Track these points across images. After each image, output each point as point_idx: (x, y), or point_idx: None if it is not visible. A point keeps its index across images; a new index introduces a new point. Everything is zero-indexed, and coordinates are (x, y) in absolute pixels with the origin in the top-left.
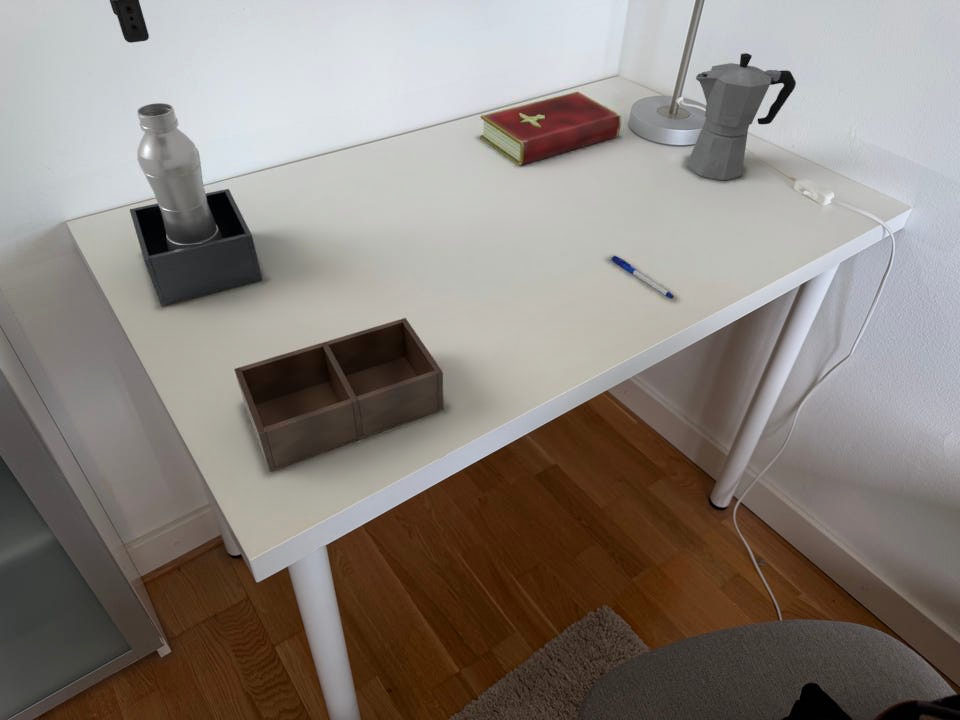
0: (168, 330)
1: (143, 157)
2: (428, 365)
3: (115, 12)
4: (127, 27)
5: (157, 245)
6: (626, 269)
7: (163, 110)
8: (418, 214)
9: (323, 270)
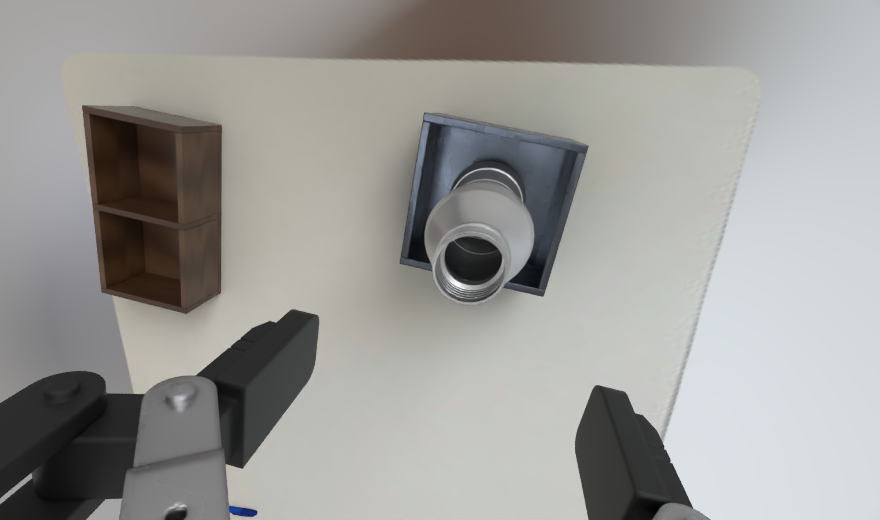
0: (386, 102)
1: (462, 192)
2: (126, 289)
3: (596, 391)
4: (244, 340)
5: (564, 160)
6: (236, 508)
7: (494, 287)
8: (434, 446)
9: (394, 306)
